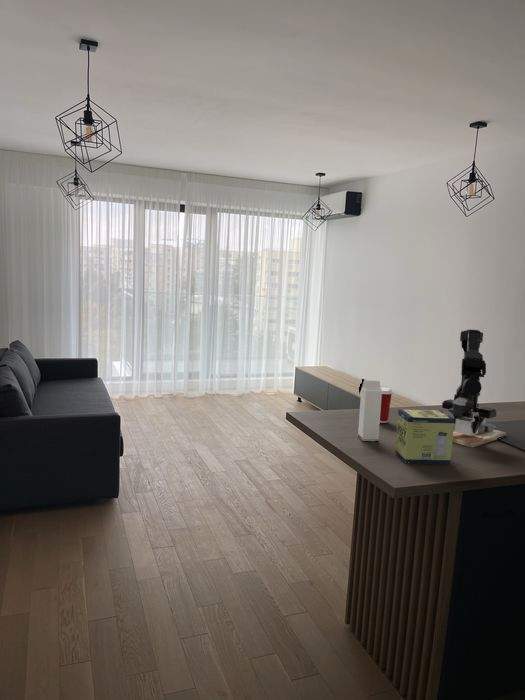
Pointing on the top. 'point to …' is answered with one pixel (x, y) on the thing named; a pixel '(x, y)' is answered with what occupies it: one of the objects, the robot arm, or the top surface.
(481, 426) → the bench vise
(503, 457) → the top surface
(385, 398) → the paper cup
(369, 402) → the milk
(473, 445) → the board
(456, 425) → the steel collar
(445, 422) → the protein box
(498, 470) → the top surface
